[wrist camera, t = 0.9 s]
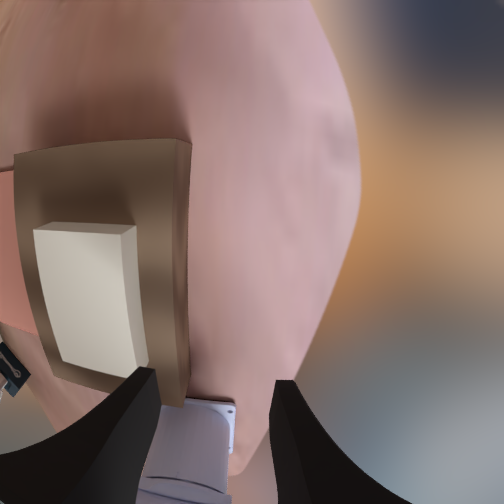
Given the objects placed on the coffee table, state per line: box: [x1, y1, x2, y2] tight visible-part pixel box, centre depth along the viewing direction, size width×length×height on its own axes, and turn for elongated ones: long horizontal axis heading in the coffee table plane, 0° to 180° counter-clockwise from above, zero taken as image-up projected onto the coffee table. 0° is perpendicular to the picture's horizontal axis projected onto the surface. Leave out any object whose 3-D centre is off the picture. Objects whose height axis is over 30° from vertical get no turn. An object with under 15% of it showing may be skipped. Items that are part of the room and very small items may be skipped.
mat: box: [0, 170, 39, 336], centre depth 18 cm, size 16×11×1 cm
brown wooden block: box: [13, 138, 192, 408], centre depth 17 cm, size 18×12×4 cm, turn 175°
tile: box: [33, 222, 149, 378], centre depth 14 cm, size 9×6×2 cm, turn 175°
